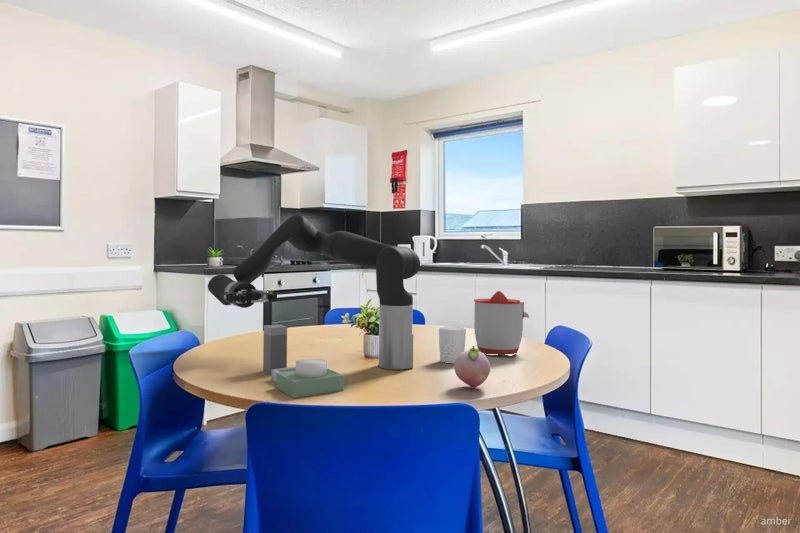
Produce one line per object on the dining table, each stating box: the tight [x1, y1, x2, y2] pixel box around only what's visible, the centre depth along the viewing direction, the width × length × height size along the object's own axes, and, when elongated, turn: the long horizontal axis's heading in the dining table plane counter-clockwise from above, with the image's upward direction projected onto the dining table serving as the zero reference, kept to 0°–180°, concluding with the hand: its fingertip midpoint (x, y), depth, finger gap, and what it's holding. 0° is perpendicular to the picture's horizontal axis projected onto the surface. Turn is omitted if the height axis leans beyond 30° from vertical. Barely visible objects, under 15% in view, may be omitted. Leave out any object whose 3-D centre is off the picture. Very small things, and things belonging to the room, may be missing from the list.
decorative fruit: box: [453, 345, 491, 388], centre depth 125 cm, size 9×8×10 cm
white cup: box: [438, 325, 467, 364], centre depth 155 cm, size 8×8×10 cm
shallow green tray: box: [270, 357, 345, 399], centre depth 125 cm, size 18×12×6 cm, turn 35°
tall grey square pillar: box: [262, 324, 288, 376], centre depth 138 cm, size 5×4×12 cm
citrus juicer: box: [473, 290, 530, 355], centre depth 168 cm, size 16×17×20 cm
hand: (259, 298), depth 147 cm, fingers open, 8 cm apart
